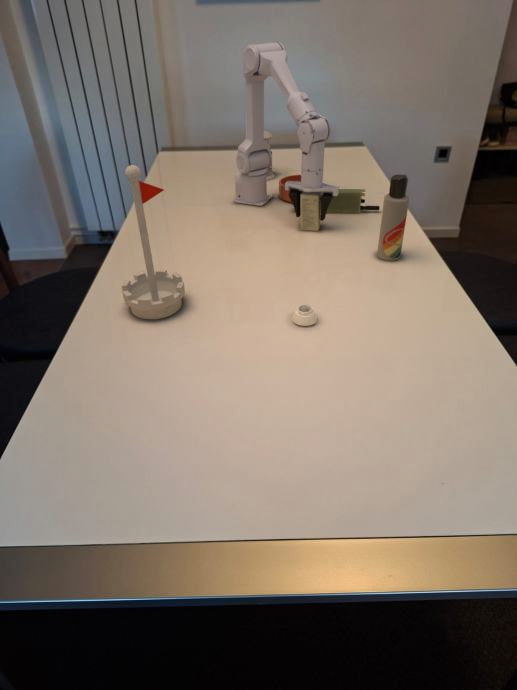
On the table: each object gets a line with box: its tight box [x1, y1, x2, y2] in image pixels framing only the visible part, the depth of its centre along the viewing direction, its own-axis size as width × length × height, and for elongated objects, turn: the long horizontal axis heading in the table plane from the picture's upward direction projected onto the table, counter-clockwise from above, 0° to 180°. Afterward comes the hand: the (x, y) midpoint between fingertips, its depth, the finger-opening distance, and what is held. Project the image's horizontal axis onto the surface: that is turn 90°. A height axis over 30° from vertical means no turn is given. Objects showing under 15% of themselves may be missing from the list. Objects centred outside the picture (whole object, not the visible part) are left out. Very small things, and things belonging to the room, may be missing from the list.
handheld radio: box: [321, 188, 381, 214], centre depth 146 cm, size 7×3×25 cm
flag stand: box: [121, 164, 186, 320], centre depth 99 cm, size 13×13×30 cm
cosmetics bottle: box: [300, 191, 321, 232], centre depth 136 cm, size 5×4×10 cm
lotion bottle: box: [376, 174, 410, 262], centre depth 118 cm, size 6×6×20 cm
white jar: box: [291, 304, 318, 327], centre depth 101 cm, size 5×3×5 cm
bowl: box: [278, 174, 301, 204], centre depth 157 cm, size 13×13×5 cm
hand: (310, 217), depth 137 cm, fingers open, 6 cm apart
